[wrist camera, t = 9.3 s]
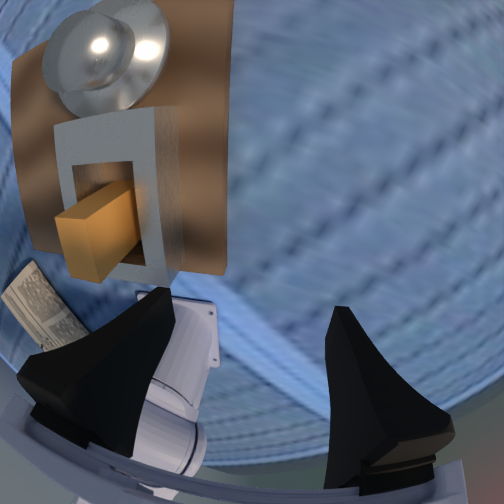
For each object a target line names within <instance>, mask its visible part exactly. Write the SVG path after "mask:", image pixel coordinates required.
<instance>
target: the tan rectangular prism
mask: <svg viewBox="0 0 504 504" xmlns="http://www.w3.org/2000/svg"><path fill="white" fill-rule="evenodd" d="M55 221H56V226H57V230H58V234H59V238H60V242H61V246H62V250H63V253H64V257H65V260H66V264H67V267H68V270H69V273H70V276H71V277H73V278H77V279H81V280H86V281H90V282H95V283H99V284H101V282H102V281H103V280H104V279H105V278H106V277H107V276H108V274H109V273H110V272H111V271H112V270H113V269H114V268H115V267H116V266H117V264H118V263H119V262H120V261H121V260H122V259H123V258H124V257H125V256H126V255H127V254H128V253H129V251H130V250H131V249H132V248H133V247H134V246H135V245H136V244H137V243H138V242H139V241H140V240H141V232H140V225H139V218H138V210H137V202H136V193H135V183H134V180H116V181H114V182H112V183H111V184H109V185H107V186H105V187H103V188H102V189H100V190H98V191H96V192H95V193H93V194H91V195H90V196H88V197H86V198H84V199H83V200H81V201H79V202H78V203H76V204H75V205H73V206H71V207H70V208H68V209H67V210H65V211H64V212H62V213H60V214H59V215H57V216H56V217H55Z"/></svg>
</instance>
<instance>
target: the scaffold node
mask: <svg viewBox="0 0 504 504" xmlns="http://www.w3.org/2000/svg"><path fill="white" fill-rule="evenodd" d="M171 50H172V28H171V25H170V21H169V19H168V17H167V15H166V14H165V12H164V11H163V10H162V9H161V8H160V7H159V6H158V5H156V4H155V3H153V2H151V1H150V0H103V1H101V2H99V3H97V4H96V5H94V6H93V7H91V8H90V9H89V10H84V11H80V12H77V13H74V14H73V15H71V16H69V17H68V18H66V19H65V20H64V21H63V22H62V23H61V24H60V25H59V26H58V27H57V28H56V30H55V31H54V32H53V34H52V36H51V37H50V39H49V41H48V43H47V46H46V48H45V51H44V55H43V61H42V73H43V77H44V80H45V82H46V84H47V86H48V87H49V88H50V89H51V90H53V91H55V92H58V93H59V96H60V98H61V100H62V102H63V104H64V105H65V106H66V107H67V109H68V110H70V111H71V112H72V113H73V114H75V115H76V116H79V117H81V118H80V119H76V120H72V121H68V122H64V123H60V124H56V125H54V139H55V150H56V159H57V167H58V174H59V181H60V187H61V193H62V199H63V204H64V209H65V210H67V209H68V208H70V207H71V206H73V205H75V204H76V203H78V202H79V201H81V200H83V199H84V198H86V197H88V196H90V195H91V194H93V193H95V192H96V191H98V190H100V189H102V188H103V187H105V185H104V177H103V168H102V163H105V162H120V161H133V172H134V183H135V193H136V202H137V210H138V218H139V225H140V232H141V239H142V240H140V241H139V242H138V243H137V244H136V245H135V246H134V247H133V248H132V249H131V250H130V251H129V253H128V254H127V255H126V256H125V257H124V258H123V259H122V260H121V261H120V262H119V263H118V264H117V266H116V267H115V268H114V269H113V270H112V271H111V272H110V273H109V274H108V276H107V278H113V279H119V280H125V281H131V282H137V283H143V284H149V285H156V286H163V287H170V285H171V284H172V282H173V280H174V279H175V277H176V275H177V274H178V272H179V270H180V269H181V267H182V266H183V264H184V262H185V251H184V240H183V227H182V213H181V197H180V177H179V144H178V106H155V107H146V108H138V109H133V108H134V107H135V106H137V105H138V104H139V103H141V102H142V101H143V100H144V99H145V98H146V97H147V96H148V95H149V94H150V93H151V92H152V90H153V89H154V88H155V86H156V85H157V84H158V82H159V80H160V79H161V77H162V75H163V73H164V71H165V69H166V67H167V64H168V62H169V59H170V55H171Z"/></svg>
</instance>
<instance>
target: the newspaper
mask: <svg viewBox="0 0 504 504" xmlns="http://www.w3.org/2000/svg"><path fill="white" fill-rule="evenodd" d="M1 298H2V300H3V301H4V302H5V304H6V305H7V307H8V308H9V309H10V311H11V312H12V313H13V315H14V316H15V317H16V319H17V320H18V321H19V322H20V324H21V325H22V326H23V327H24V329H25V330H26V331H27V332H28V333H29V335H30V336H31V337H32V338H33V339H34V341H35V342H36V343H37V344H38V345H39V346H40V347H41V348H42V350H43V351H44V352H47V351H50V350H53V349H56V348H59V347H62V346H64V345H67V344H69V343H72V342H74V341H76V340H78V339H80V338H82V337H84V336H86V335H88V334H90V332H89V331H88V330H87V329H86V328H85V327H84V326H83V324H82V323H81V322H80V321H79V320H78V319H77V317H76V316H75V315H74V314H73V313H72V311H71V310H70V309H69V308H68V306H67V305H66V304H65V303H64V301H63V300H62V299H61V298H60V296H59V295H58V294H57V292H56V291H55V290H54V288H53V287H52V286H51V284H50V283H49V282H48V280H47V279H46V277H45V276H44V274H43V273H42V272H41V270H40V269H39V267H38V266H37V264H36V263H35V261H34V260H32V261H31V262H30V263H29V264H28V265H27V266H26V267H25V268H24V269H23V270H22V271H21V272H20V273H19V275H18V276H17V277H16V278H15V279H14V280H13V282H12V283H11V284H10V285H9V286H8V288H7V289H6V290H5V292H4V293H3V294H2V296H1Z"/></svg>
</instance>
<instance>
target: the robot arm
mask: <svg viewBox="0 0 504 504" xmlns="http://www.w3.org/2000/svg"><path fill="white" fill-rule="evenodd" d="M137 299H138V302H137V303H135V304H134V305H133V306H131V307H130V308H129V309H127V310H126V311H125V312H123V313H122V314H120V315H119V316H117V317H116V318H115V319H113V320H112V321H110V322H109V323H107V324H106V325H104V326H103V327H101V328H99V329H97V330H96V331H94V332H92V333H90V334H88V335H86V336H84V337H82V338H80V339H78V340H76V341H74V342H72V343H69V344H67V345H64V346H62V347H59V348H56V349H53V350H50V351H47V352H43V353H39V354H35V355H31V356H29V358H28V359H27V360H26V362H25V363H24V365H23V366H22V368H21V369H20V371H19V372H18V373H17V380H18V381H19V383H20V384H21V386H22V387H23V388H24V389H25V390H26V392H27V393H28V394H29V395H30V396H31V397H32V398H33V399H34V401H35V402H36V404H35V406H34V407H33V406H32V405H31V404H30V403H28V402H27V401H26V400H24V399H23V398H21V397H20V396H18V395H17V394H16V393H14V394H13V396H12V398H11V399H10V401H9V403H8V405H7V406H6V408H5V409H4V411H3V413H2V414H1V416H0V437H1V438H2V439H3V440H4V441H5V442H6V443H7V444H9V445H10V446H11V447H12V448H13V449H14V450H16V451H17V452H18V453H19V454H20V455H21V456H22V457H24V458H25V459H26V460H27V461H28V462H30V463H31V464H32V465H33V466H35V467H36V468H37V469H38V470H40V471H41V472H43V473H44V474H45V475H47V476H48V477H49V478H51V479H52V480H54V481H55V482H57V483H58V484H59V485H61V486H62V487H64V488H65V489H67V490H68V491H70V492H72V493H73V494H75V497H74V499H73V501H72V503H71V504H182V503H178V502H175V501H171V500H172V499H173V498H174V496H175V495H176V494H177V493H178V491H180V492H183V493H188V494H192V495H196V496H201V497H206V498H211V499H217V500H222V501H228V502H236V503H243V504H468V501H467V493H466V485H465V478H464V472H463V467H462V461H461V460H460V459H459V460H456V461H453V462H450V463H447V464H444V465H441V466H438V467H436V468H434V469H433V464H432V463H434V462H435V461H436V456H435V453H437V452H438V451H439V450H440V449H442V448H444V447H445V446H446V445H448V444H449V443H450V442H451V441H452V440H453V439H454V437H455V430H454V426H453V423H452V419H451V416H450V415H449V414H448V413H446V412H445V411H443V410H442V409H440V408H438V407H437V406H435V405H434V404H432V403H431V402H430V401H428V400H427V399H426V398H424V397H423V396H422V395H421V394H419V393H418V392H417V391H416V390H415V389H413V388H412V387H411V386H410V385H409V384H408V383H407V382H406V381H405V380H404V379H403V378H402V377H401V376H400V375H399V374H398V373H397V372H396V371H395V370H394V369H393V368H392V367H391V366H390V365H389V363H388V362H387V361H386V360H385V359H384V357H383V356H382V355H381V354H380V352H379V351H378V350H377V348H376V347H375V346H374V344H373V343H372V341H371V340H370V338H369V337H368V336H367V334H366V333H365V331H364V330H363V328H362V327H361V325H360V324H359V322H358V320H357V319H356V317H355V316H354V314H353V313H352V311H351V310H350V308H349V307H345V306H335V308H334V311H333V315H332V318H331V321H330V325H329V328H328V331H327V334H326V337H325V361H326V369H327V378H328V386H329V395H330V408H331V415H330V440H329V452H328V462H327V469H326V477H325V483H324V489H323V490H322V489H320V490H286V489H285V490H284V489H267V488H256V487H246V486H237V485H231V484H224V483H218V482H213V481H208V480H203V479H198V478H194V477H193V476H194V475H195V473H196V472H197V470H198V469H199V467H200V465H201V463H202V461H203V458H204V455H205V451H206V444H207V439H206V434H205V430H204V427H203V425H202V424H201V423H199V422H197V421H196V420H197V416H198V413H199V411H198V410H197V409H198V407H199V404H200V401H201V397H202V394H203V390H204V387H205V383H206V380H207V376H208V373H209V369H210V367H216V368H217V367H219V365H220V357H219V342H218V327H217V309H216V305H215V304H213V303H210V302H202V301H195V300H188V299H181V298H175V297H171V291H170V288H166V287H159V286H158V287H156V288H155V289H154V290H152V291H151V292H150V293H144V292H140V293H139V294H138V295H137ZM209 311H211V312H213V313H211V312H209Z"/></svg>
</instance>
